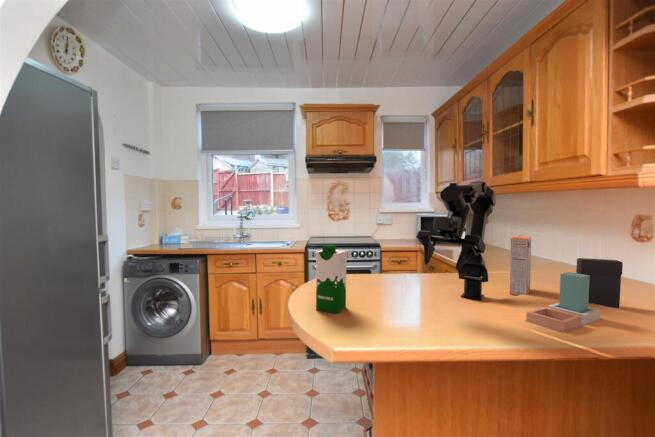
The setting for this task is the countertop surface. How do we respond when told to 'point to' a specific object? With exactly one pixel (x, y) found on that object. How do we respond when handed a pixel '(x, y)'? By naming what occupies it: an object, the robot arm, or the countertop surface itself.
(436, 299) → the countertop surface
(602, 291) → the black box
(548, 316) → the organiser
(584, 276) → the plug
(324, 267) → the milk carton
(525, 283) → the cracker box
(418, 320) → the countertop surface
